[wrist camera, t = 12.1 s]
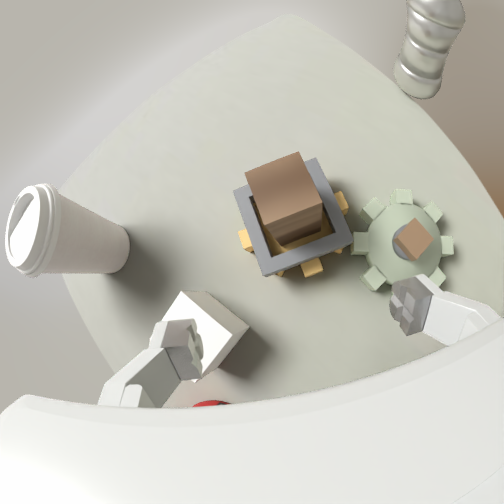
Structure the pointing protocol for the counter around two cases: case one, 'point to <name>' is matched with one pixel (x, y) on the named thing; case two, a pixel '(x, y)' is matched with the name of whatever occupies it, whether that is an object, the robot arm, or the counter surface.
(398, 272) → the gear
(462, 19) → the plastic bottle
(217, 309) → the white cube
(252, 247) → the frame
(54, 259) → the coffee cup
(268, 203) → the peg
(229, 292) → the counter surface
